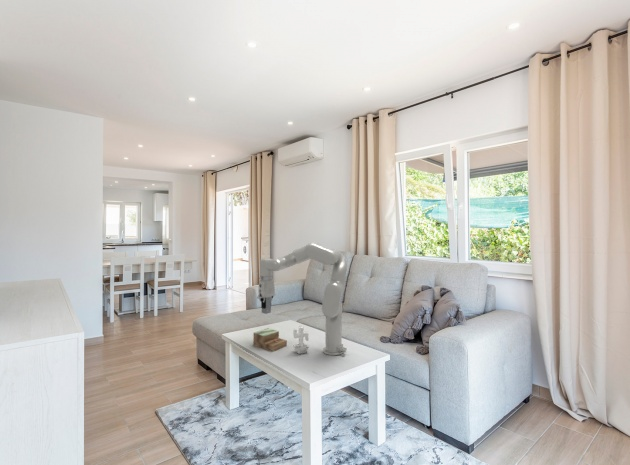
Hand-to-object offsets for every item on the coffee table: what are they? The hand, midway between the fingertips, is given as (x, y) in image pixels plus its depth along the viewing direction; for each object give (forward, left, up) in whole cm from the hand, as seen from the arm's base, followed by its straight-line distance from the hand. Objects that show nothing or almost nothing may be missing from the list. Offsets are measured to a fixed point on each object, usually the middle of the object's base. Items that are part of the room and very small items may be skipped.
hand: (266, 307), depth 208 cm
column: (0, 0, -3) cm, 3 cm away
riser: (-3, 0, -23) cm, 23 cm away
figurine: (-25, -4, -23) cm, 35 cm away
